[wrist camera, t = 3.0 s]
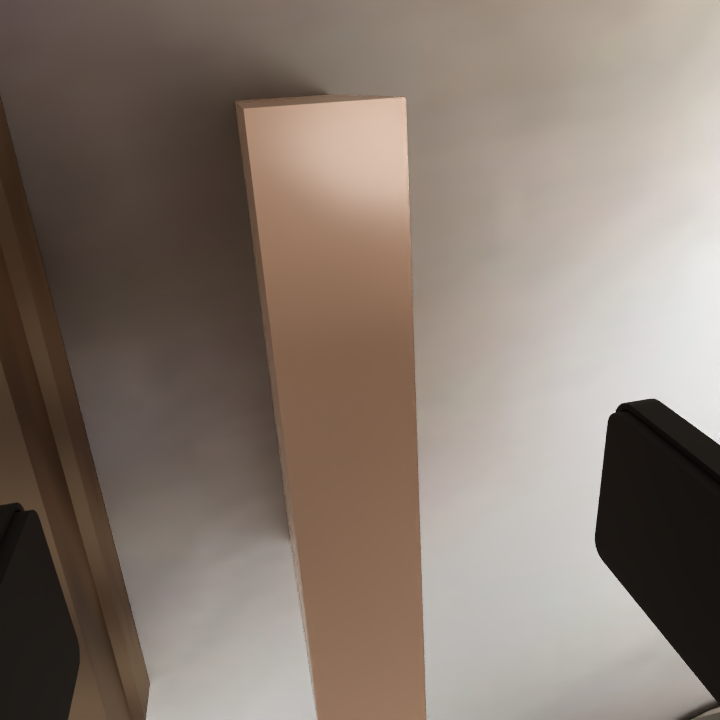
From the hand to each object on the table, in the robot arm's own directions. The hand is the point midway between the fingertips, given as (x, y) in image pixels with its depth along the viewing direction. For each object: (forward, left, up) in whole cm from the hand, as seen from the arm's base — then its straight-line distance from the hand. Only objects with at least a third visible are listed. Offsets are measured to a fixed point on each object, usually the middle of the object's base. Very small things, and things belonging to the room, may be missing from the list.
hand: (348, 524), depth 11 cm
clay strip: (-1, 0, -10) cm, 10 cm away
